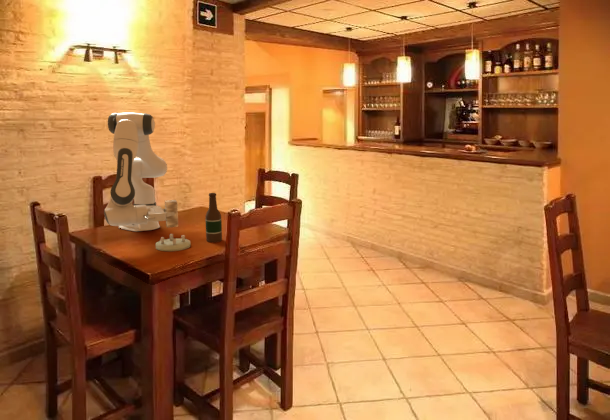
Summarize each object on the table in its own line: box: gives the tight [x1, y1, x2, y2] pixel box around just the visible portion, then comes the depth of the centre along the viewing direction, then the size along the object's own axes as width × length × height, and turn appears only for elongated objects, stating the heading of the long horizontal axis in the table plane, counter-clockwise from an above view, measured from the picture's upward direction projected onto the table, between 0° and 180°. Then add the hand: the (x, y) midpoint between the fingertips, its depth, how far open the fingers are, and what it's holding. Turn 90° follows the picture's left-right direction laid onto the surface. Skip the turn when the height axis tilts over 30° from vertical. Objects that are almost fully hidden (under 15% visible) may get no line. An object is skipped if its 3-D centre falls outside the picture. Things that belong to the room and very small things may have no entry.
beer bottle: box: [204, 192, 223, 243], centre depth 243 cm, size 8×8×24 cm
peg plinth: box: [155, 233, 191, 252], centre depth 233 cm, size 16×16×5 cm
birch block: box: [164, 199, 179, 228], centre depth 231 cm, size 5×5×12 cm
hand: (173, 212), depth 231 cm, fingers closed on birch block, 5 cm apart
